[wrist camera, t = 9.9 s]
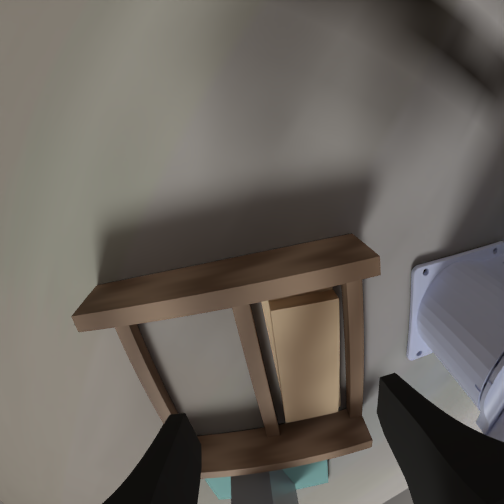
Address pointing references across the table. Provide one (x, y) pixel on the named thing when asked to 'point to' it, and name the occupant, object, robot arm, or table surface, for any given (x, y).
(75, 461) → the table surface
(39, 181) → the table surface
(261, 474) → the gray rectangular block
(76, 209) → the table surface
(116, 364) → the table surface
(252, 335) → the walnut rack
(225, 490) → the teal mat
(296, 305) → the upper offcut board
